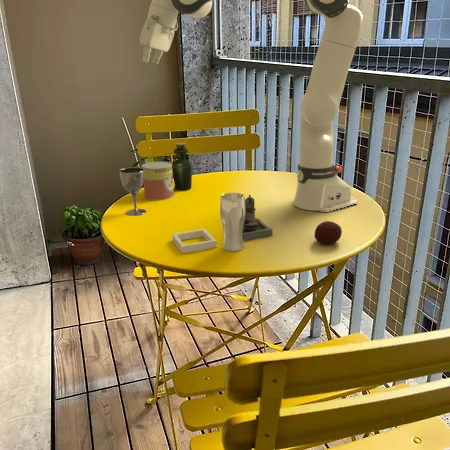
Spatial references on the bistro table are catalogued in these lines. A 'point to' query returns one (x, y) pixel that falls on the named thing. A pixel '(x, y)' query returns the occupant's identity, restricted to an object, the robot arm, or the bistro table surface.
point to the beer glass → (233, 220)
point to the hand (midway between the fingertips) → (150, 62)
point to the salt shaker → (250, 216)
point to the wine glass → (133, 186)
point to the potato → (328, 232)
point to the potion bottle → (182, 169)
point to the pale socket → (194, 246)
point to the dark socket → (258, 232)
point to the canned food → (158, 180)
